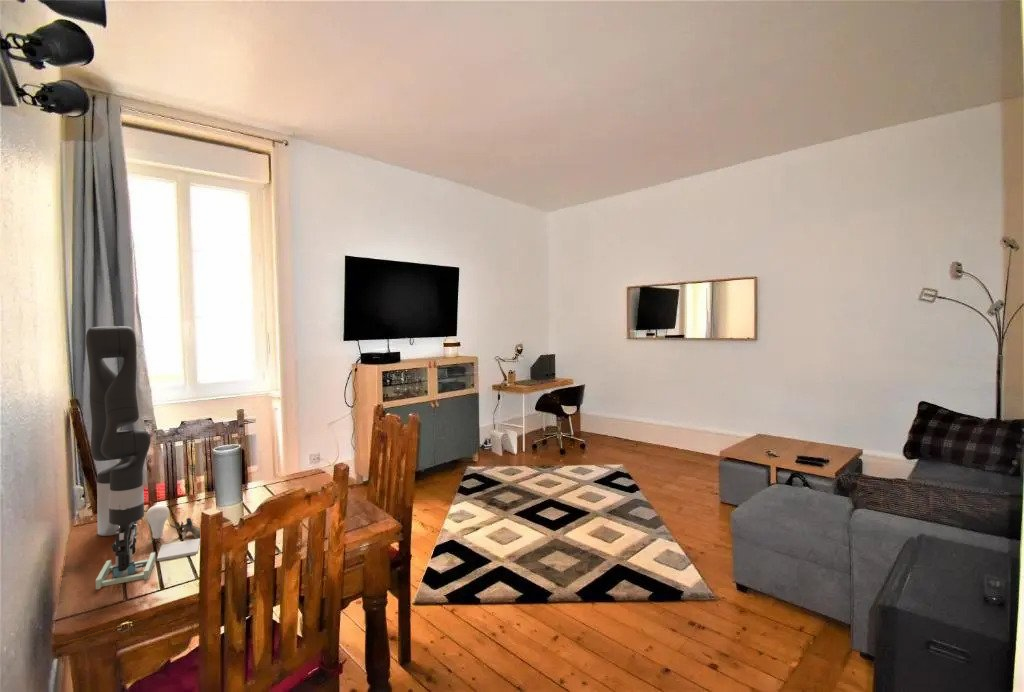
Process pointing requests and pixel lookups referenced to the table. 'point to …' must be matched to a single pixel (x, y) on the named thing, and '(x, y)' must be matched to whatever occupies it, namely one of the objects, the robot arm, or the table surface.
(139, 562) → the frame
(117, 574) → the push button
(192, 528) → the eagle figurine
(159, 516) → the lightbulb
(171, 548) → the tile
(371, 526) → the table surface
